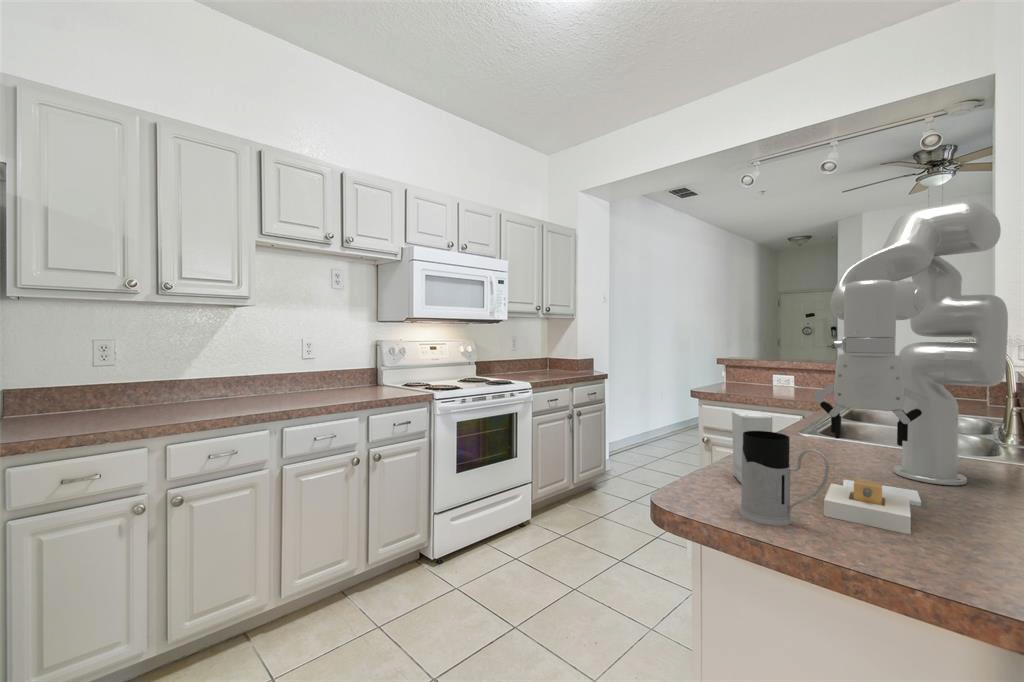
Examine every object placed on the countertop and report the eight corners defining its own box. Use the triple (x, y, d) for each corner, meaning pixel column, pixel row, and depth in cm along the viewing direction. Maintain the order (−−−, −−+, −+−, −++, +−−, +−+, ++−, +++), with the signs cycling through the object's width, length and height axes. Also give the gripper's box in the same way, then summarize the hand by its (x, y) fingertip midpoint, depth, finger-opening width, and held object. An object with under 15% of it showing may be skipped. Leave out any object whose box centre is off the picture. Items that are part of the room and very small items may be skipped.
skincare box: (774, 488, 98) (774, 417, 98) (741, 486, 100) (741, 416, 99) (760, 476, 107) (761, 410, 106) (730, 474, 108) (731, 409, 108)
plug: (854, 506, 87) (855, 477, 87) (881, 511, 84) (882, 482, 84) (852, 515, 83) (853, 485, 82) (881, 521, 80) (881, 490, 80)
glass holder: (750, 503, 90) (750, 428, 90) (835, 526, 79) (836, 441, 79) (730, 514, 84) (731, 434, 84) (819, 541, 73) (820, 449, 73)
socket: (831, 497, 93) (831, 483, 93) (908, 513, 85) (909, 497, 85) (823, 515, 84) (824, 499, 84) (910, 534, 76) (910, 516, 76)
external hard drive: (921, 509, 88) (842, 495, 96) (917, 497, 95) (843, 485, 102) (921, 501, 88) (842, 487, 96) (917, 489, 95) (843, 478, 102)
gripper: (810, 347, 86) (809, 437, 87) (934, 349, 75) (932, 452, 76) (815, 346, 92) (814, 430, 93) (931, 347, 81) (930, 444, 81)
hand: (867, 440), depth 84 cm, fingers open, 8 cm apart
